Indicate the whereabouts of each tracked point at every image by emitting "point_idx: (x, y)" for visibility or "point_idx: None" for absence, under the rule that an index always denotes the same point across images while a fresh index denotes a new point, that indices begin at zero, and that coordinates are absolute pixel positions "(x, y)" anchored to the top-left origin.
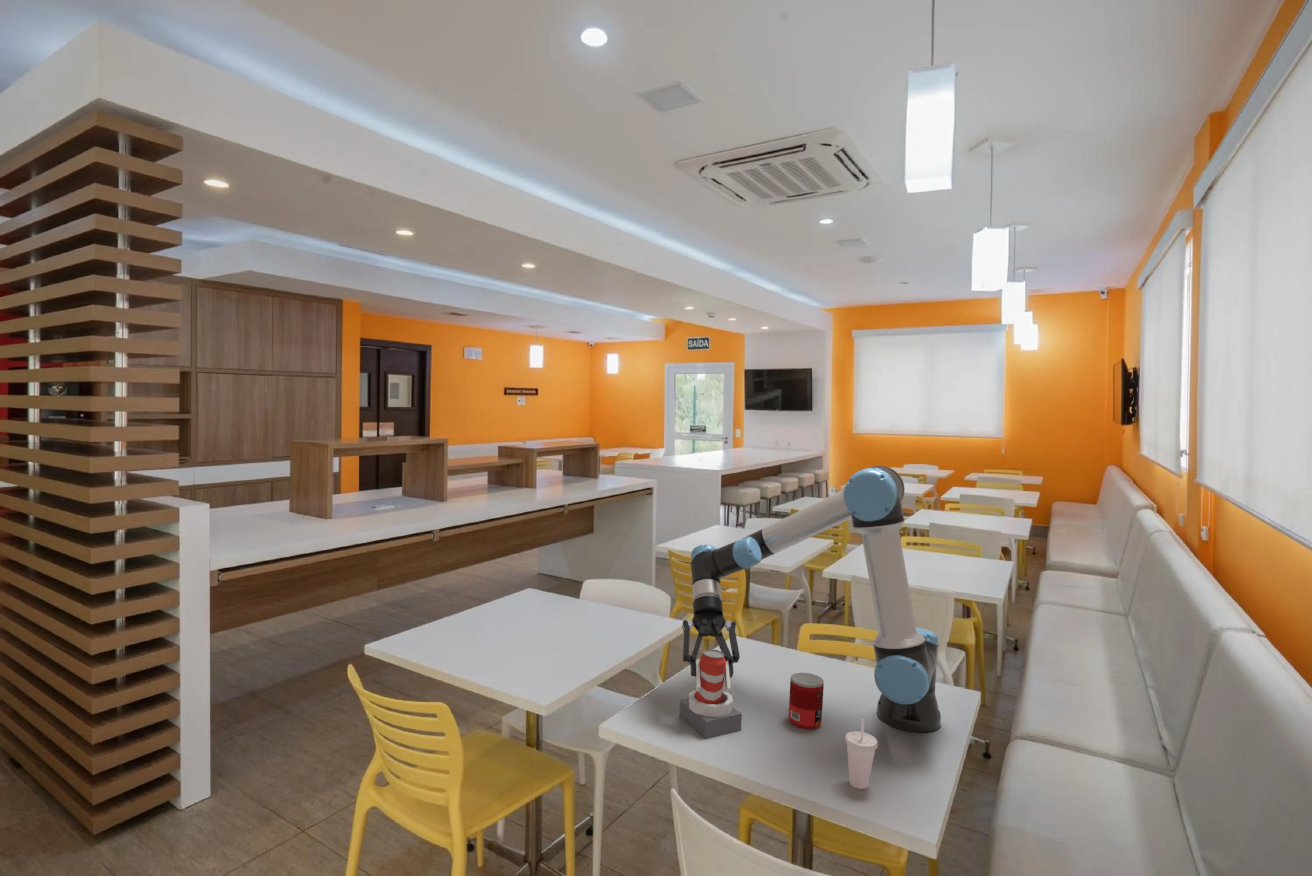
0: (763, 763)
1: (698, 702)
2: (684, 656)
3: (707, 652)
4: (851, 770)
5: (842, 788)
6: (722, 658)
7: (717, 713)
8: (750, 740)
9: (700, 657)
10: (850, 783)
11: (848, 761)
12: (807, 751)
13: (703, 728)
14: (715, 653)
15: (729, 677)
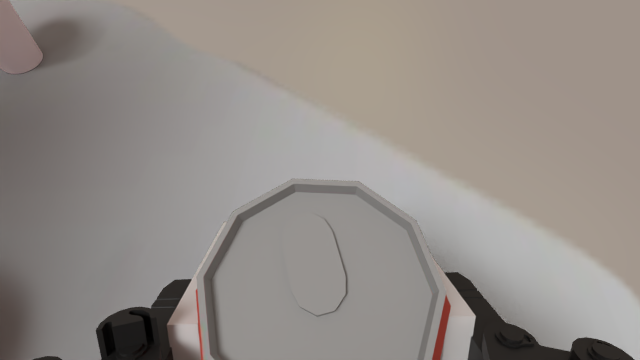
0: (203, 124)
1: None
2: (609, 345)
3: (387, 340)
4: (22, 22)
5: (69, 49)
6: (238, 223)
7: None
8: (197, 230)
9: (447, 302)
10: (41, 55)
11: (11, 16)
12: (51, 177)
13: None
14: (292, 332)
15: (210, 249)
